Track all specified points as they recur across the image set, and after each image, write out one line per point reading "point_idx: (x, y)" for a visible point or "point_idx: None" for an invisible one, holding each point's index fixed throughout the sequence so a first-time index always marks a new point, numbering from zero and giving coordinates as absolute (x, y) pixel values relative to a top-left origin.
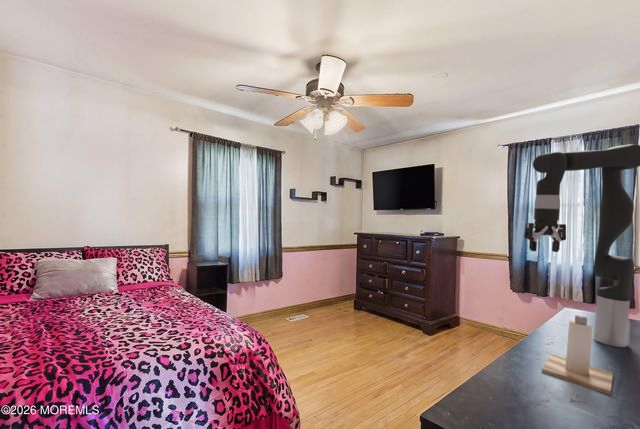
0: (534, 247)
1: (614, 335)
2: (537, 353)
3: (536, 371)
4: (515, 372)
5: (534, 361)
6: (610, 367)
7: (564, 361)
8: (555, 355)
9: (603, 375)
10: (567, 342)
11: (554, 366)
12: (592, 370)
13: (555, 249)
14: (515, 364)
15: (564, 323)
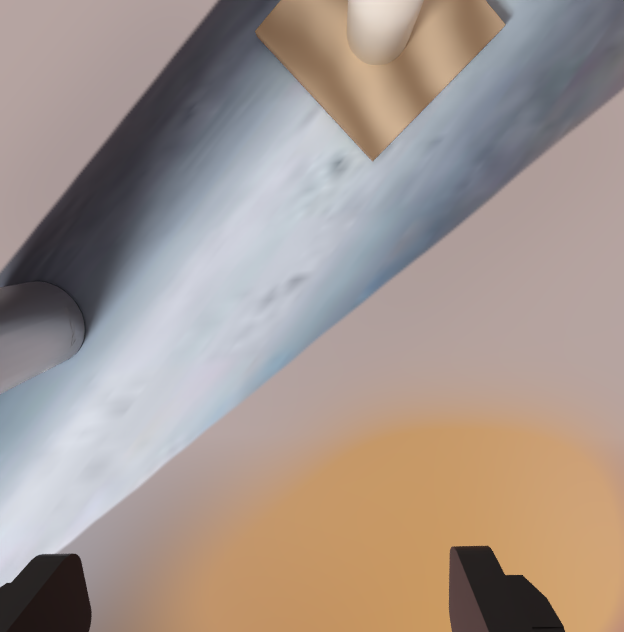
0: (515, 605)
1: (29, 293)
2: (398, 191)
3: (513, 37)
4: (601, 17)
5: (461, 120)
6: (208, 110)
7: (370, 98)
8: (366, 148)
9: (310, 1)
10: (421, 3)
11: (443, 49)
12: (319, 37)
13: (54, 602)
14: (554, 84)
15: (84, 483)
